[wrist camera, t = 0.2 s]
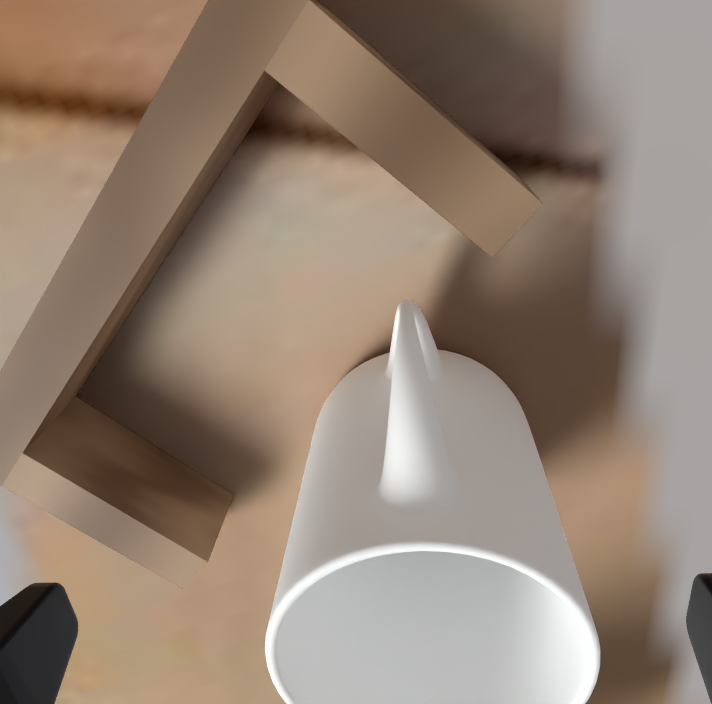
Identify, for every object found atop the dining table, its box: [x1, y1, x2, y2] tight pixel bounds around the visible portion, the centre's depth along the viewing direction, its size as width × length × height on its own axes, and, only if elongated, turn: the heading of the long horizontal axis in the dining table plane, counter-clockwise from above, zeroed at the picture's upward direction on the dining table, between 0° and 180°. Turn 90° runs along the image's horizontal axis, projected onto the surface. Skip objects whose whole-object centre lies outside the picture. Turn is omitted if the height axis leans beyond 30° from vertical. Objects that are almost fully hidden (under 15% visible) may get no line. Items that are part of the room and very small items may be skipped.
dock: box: [0, 0, 543, 589], centre depth 21 cm, size 10×20×4 cm, turn 142°
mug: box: [265, 300, 601, 704], centre depth 20 cm, size 9×12×11 cm
